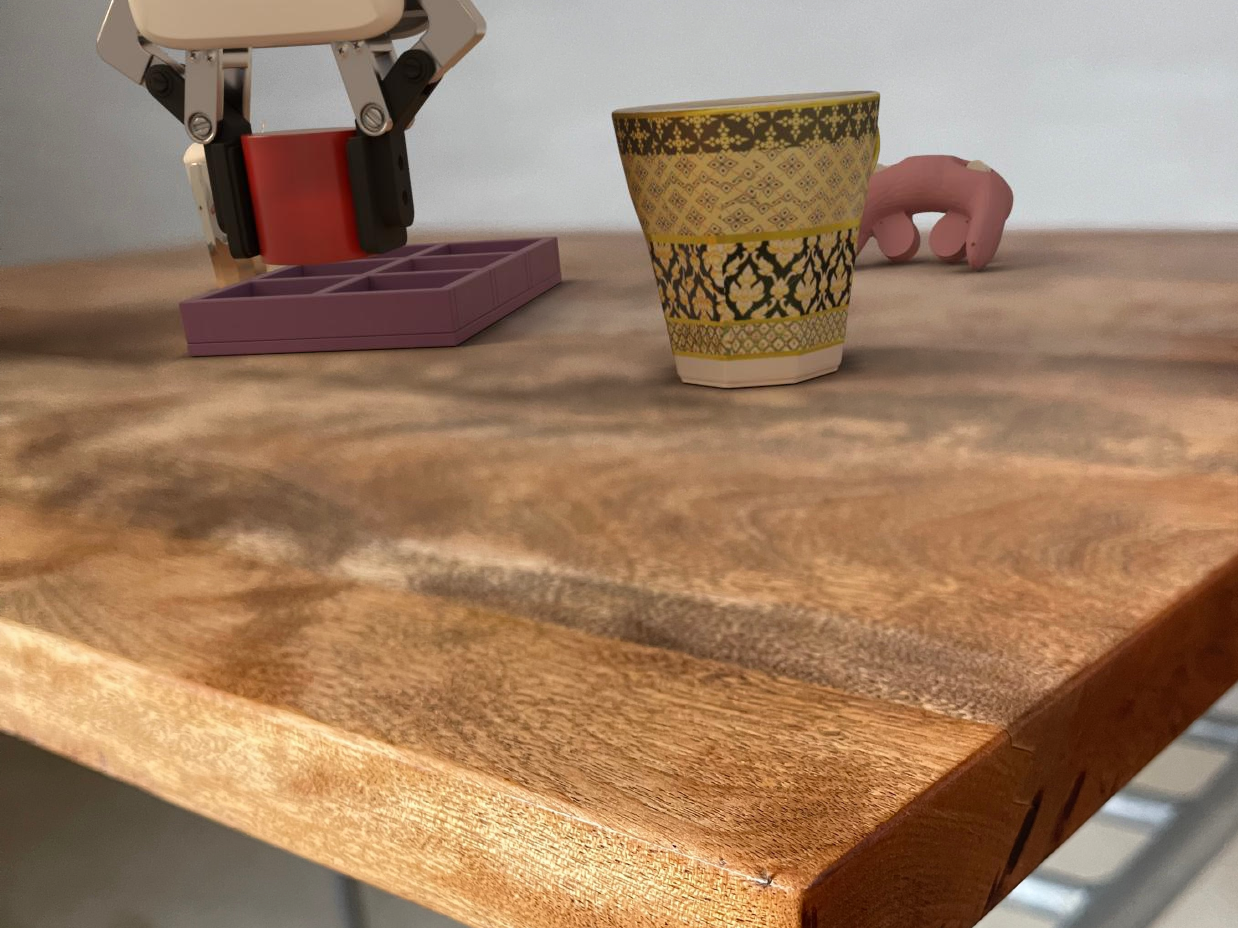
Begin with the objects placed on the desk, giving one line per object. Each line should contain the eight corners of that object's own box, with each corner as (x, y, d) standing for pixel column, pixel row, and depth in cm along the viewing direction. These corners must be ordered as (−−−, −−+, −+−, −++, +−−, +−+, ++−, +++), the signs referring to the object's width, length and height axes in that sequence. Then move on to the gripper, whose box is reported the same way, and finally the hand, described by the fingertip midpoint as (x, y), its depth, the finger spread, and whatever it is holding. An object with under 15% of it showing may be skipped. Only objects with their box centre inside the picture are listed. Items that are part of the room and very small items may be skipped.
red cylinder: (241, 267, 52) (218, 137, 50) (291, 250, 56) (272, 130, 54) (355, 263, 51) (336, 132, 49) (398, 247, 55) (382, 124, 53)
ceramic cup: (770, 408, 50) (756, 105, 46) (582, 382, 57) (555, 114, 53) (976, 344, 59) (979, 81, 55) (791, 327, 65) (782, 92, 61)
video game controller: (1007, 290, 80) (1028, 167, 80) (982, 263, 76) (1005, 134, 76) (847, 288, 85) (866, 172, 85) (816, 262, 81) (836, 141, 81)
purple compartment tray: (456, 346, 67) (449, 289, 66) (188, 356, 69) (177, 302, 68) (562, 281, 85) (557, 236, 84) (346, 291, 88) (339, 247, 87)
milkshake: (300, 286, 92) (271, 119, 88) (215, 296, 90) (181, 126, 86) (286, 279, 95) (258, 119, 91) (204, 289, 94) (172, 126, 89)
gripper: (516, -337, 48) (564, 232, 55) (59, -288, 51) (163, 246, 58) (445, -397, 41) (510, 259, 48) (-78, -337, 44) (60, 273, 51)
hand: (320, 246), depth 53 cm, fingers closed on red cylinder, 4 cm apart
